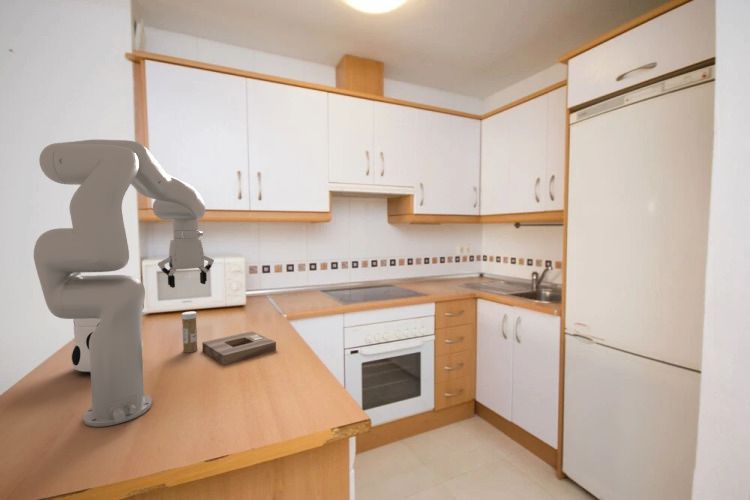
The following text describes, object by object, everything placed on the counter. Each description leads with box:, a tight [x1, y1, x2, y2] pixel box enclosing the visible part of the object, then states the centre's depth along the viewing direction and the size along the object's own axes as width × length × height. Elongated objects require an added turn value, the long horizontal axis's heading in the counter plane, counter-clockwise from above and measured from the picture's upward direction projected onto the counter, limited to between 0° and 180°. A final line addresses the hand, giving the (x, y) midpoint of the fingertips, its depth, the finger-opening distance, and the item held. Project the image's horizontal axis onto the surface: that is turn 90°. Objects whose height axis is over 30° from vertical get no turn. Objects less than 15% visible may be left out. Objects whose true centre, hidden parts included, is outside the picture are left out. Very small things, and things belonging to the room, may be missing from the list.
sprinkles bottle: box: [181, 310, 198, 354], centre depth 118 cm, size 5×5×14 cm
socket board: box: [201, 330, 277, 366], centre depth 119 cm, size 18×18×3 cm
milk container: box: [70, 318, 144, 374], centre depth 105 cm, size 17×17×18 cm
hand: (188, 285), depth 118 cm, fingers open, 9 cm apart
